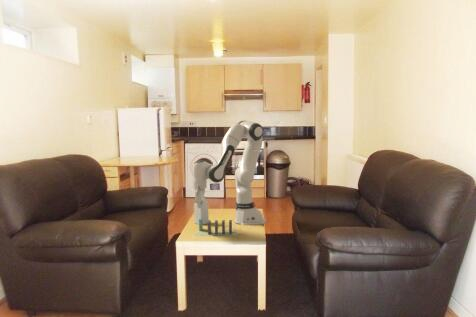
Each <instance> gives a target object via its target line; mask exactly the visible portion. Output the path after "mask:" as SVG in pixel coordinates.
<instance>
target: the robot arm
mask: <svg viewBox="0 0 476 317" xmlns="http://www.w3.org/2000/svg"><path fill="white" fill-rule="evenodd" d="M263 134H264V128H263V126H262V125H261V124H260V123H258V122H254V121H251V120H250V121H249V120H240V121H239V122H238V123H233V124H231V126H230V127H229V129H228V130H227V131H226V133H225V135H224V136H223V137H222V140H221V147H222V150H223V151H222V154H221V157H220V158H219V161H218V162H217V164H216V165H214V164H212V163H209V162H207V161H205V160H197V161H195V162H194V163H193V166H192V176H193V178H192V188H193V190H194V191H195V193H194V195H195V196H194V200H195V201H194V202H197V205H198V208H200V207H201V205H202V201H203V197H204V196H205V193H206V189H207V180H210V181H211V182H213V183H215V184H216V183H222V182H223V180H224V178H225V177H226V171H227V168H228V166H229V164H230V162H231V160H232V159H233V156H234V153H235V152H236V150H237V148H238V147H239V145H240V143H241V142H242V140H243V138H244V137H246V139H247V141H246V144H245V147H244V150H243V153H242V155H241V161H240V165H239V167H237V168H236V169H235V171H234V180H235V189H236V190H235V191H236V202H235V210H236V211H235V218H234V223H236V224H238V225H243V226H248V225H249V226H251V225H252V226H253V225H265V224H266V223H267V220H266V218H265V217H264V216H263V213H262V211H261V210H259V209H258V208H257V207H256V206H257V204H256V203H255V202H254V201H253V190H252V183H253V182H254V179H255V173H256V167H257V164H258V160H259V156H260V153H261V151H262V146H263V139H264V138H263Z"/></svg>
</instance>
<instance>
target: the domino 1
mask: <svg viewBox="0 0 476 317" xmlns="http://www.w3.org/2000/svg"><path fill="white" fill-rule="evenodd" d="M198 225H199V226H198V230H199V231H198V232H203V224H202V218H199V224H198Z"/></svg>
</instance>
